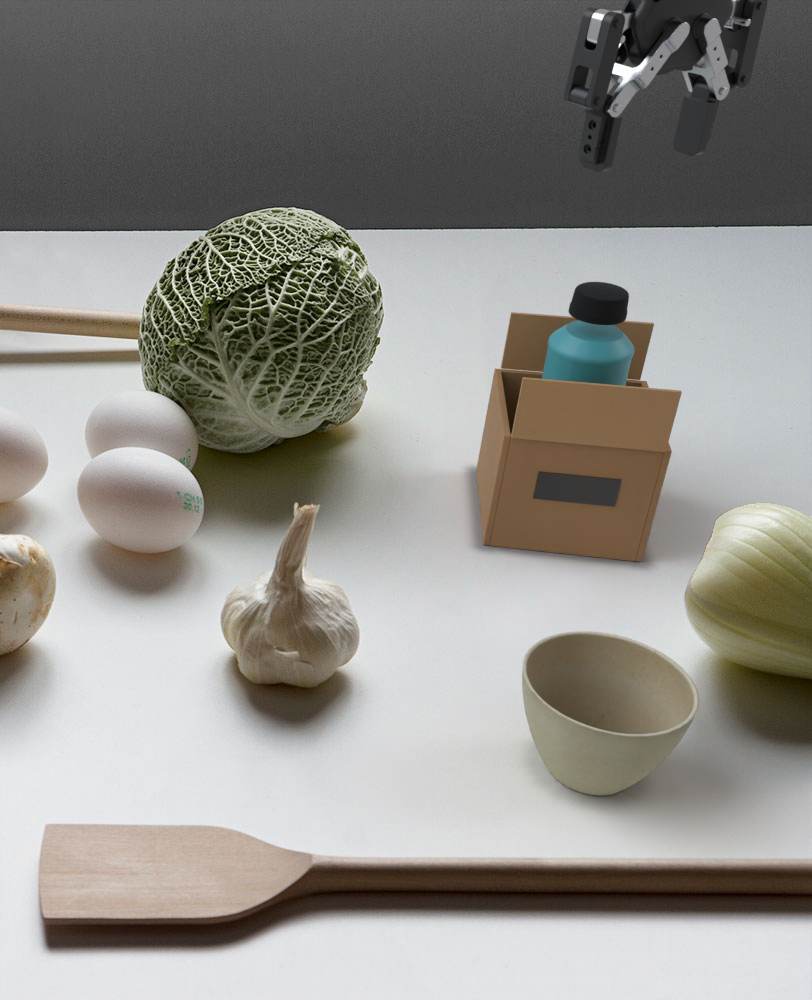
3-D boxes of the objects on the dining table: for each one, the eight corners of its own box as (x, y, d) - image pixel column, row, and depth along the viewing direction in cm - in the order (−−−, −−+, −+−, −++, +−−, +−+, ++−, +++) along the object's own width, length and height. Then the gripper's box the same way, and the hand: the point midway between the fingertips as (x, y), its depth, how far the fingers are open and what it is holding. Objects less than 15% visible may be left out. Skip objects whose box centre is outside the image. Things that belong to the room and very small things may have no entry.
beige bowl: (657, 727, 85) (683, 640, 81) (683, 837, 77) (714, 747, 73) (499, 705, 87) (517, 620, 83) (508, 811, 79) (529, 721, 75)
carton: (619, 483, 112) (660, 323, 104) (642, 564, 101) (689, 392, 93) (475, 469, 114) (504, 311, 106) (483, 547, 103) (515, 378, 96)
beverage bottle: (595, 541, 104) (652, 310, 93) (509, 526, 106) (555, 298, 95) (597, 501, 109) (651, 278, 99) (515, 488, 111) (559, 267, 101)
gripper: (662, -82, 75) (604, 191, 84) (833, -98, 80) (761, 161, 89) (569, -97, 81) (523, 159, 89) (734, -111, 86) (675, 133, 94)
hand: (642, 160), depth 89 cm, fingers open, 8 cm apart
